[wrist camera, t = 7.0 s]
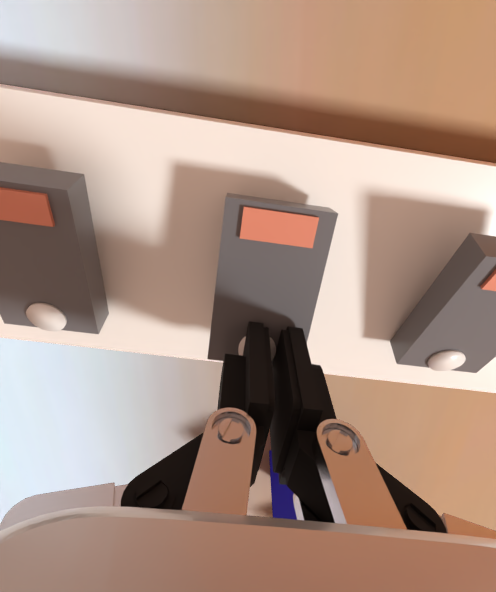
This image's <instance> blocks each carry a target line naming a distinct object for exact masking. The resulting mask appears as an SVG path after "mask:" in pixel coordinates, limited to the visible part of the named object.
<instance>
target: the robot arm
mask: <svg viewBox="0 0 496 592" xmlns="http://www.w3.org/2000/svg"><path fill="white" fill-rule="evenodd" d="M269 429H270V436H271V451H272V466H273V472H274V473H278V474H279V484H282V485H287V487H288V488H289V489H290V490H291V491H292V492H293V493H294V494H293V503H294V508H295V512H296V516H297V520H294V519H283V518H271V517H259V516H247V515H246V514H247V506H248V497H249V489H250V487H251V486H252V485H253V484H254V483H255V479H256V475H257V471H258V470H259V466H260V463H261V459H262V455H263V451H264V448H265V444H266V440H267V436H268V433H269ZM0 592H496V531H495V530H492V529H489V528H486V527H483V526H480V525H477V524H474V523H472V522H469V521H466V520H463V519H460V518H457V517H454V516H452V515H449V514H446V513H443V515H442V516H439V515H438V514H437V513H436V511H435V510H434V509H433V508H432V507H431V506H430V505H428V504H427V503H426V502H425V501H424V500H422V499H421V498H420V497H418V496H417V495H416V494H415V493H413V492H412V491H411V490H410V489H408V488H407V487H406V486H404V485H403V484H402V483H401V482H399V481H398V480H397V479H395V478H394V477H393V476H392V475H390V474H389V473H388V472H387V471H385V470H384V469H383V468H381V467H380V466H379V465H378V464H376V463H375V461H374V459H373V457H372V455H371V453H370V451H369V449H368V447H367V445H366V443H365V441H364V438H363V437H362V435H361V434H360V432H359V431H358V430H357V429H356V428H354V427H353V426H352V425H350V424H349V423H347V422H344V421H342V420H338V419H336V416H335V412H334V409H333V405H332V402H331V398H330V394H329V391H328V387H327V384H326V380H325V377H324V373H323V370H322V367H321V366H320V365H316V364H311V360H310V356H309V352H308V348H307V343H306V339H305V335H304V331H303V329H302V328H297V327H289V326H288V327H287V328H286V330H283V329H282V330H281V333H280V337H279V341H278V345H277V349H276V353H275V357H274V362H273V366H272V358H271V347H270V337H269V328H267V327H264V324H263V323H258V322H250V321H249V323H248V327H247V333H246V339H245V345H244V351H243V356H241V355H233V354H225V355H224V361H223V368H222V375H221V382H220V391H219V400H218V410H217V411H215V412H214V413H213V414H212V415H211V416H210V417H209V419H208V421H207V423H206V427H205V430H204V433H202V434H201V435H199V436H198V437H196V438H195V439H193V440H191V441H190V442H188V443H187V444H185V445H184V446H182V447H181V448H179V449H178V450H176V451H175V452H173V453H172V454H170V455H169V456H167V457H166V458H164V459H162V460H161V461H159V462H158V463H156V464H155V465H153V466H152V467H150V468H149V469H147V470H146V471H144V472H143V473H141V474H140V475H138V476H137V477H135V478H134V479H133V480H132V481H131V482H130V483H129V484H126V485H120V486H115V484H114V483H108V484H102V485H95V486H89V487H83V488H76V489H70V490H64V491H57V492H51V493H45V494H38V495H34V496H31V497H28V498H25V499H24V500H22V501H20V502H19V503H17V504H16V505H14V506H13V507H12V508H11V509H10V510H9V511H8V513H7V514H6V515H5V516H4V518H3V520H2V522H1V524H0Z"/></svg>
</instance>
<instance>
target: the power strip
mask: <svg viewBox="0 0 496 592" xmlns="http://www.w3.org/2000/svg"><path fill="white" fill-rule="evenodd" d="M0 162H4V163H11V164H18V165H25V166H32V167H39V168H46V169H52V170H59V171H66V172H73V173H80V174H84V176H85V182H86V187H87V193H88V198H89V204H90V210H91V215H92V221H93V226H94V232H95V238H96V243H97V249H98V254H99V260H100V266H101V271H102V277H103V282H104V288H105V294H106V299H107V305H108V311H109V315H108V317H107V319H106V321H105V323H104V325H103V327H102V329H101V331H100V333H99V334H91V333H83V332H74V331H65V330H59V331H47V330H43V329H41V328H39V327H30V326H22V325H13V324H4V322H3V320H2V318H1V315H0V338H9V339H18V340H27V341H36V342H45V343H54V344H63V345H72V346H81V347H90V348H99V349H108V350H116V351H125V352H134V353H143V354H152V355H161V356H170V357H179V358H188V359H197V360H206V361H215V362H223V361H218V360H209V359H207V358H208V349H209V340H210V331H211V322H212V313H213V304H214V295H215V286H216V277H217V269H218V260H219V251H220V242H221V233H222V224H223V215H224V206H225V197H226V195H227V193H232V194H239V195H246V196H253V197H260V198H267V199H274V200H281V201H287V202H294V203H301V204H308V205H315V206H322V207H329V208H331V209H332V210H334V211H335V212H337V213H338V217H337V221H336V225H335V229H334V233H333V237H332V241H331V246H330V250H329V254H328V258H327V262H326V266H325V270H324V274H323V278H322V283H321V287H320V291H319V295H318V299H317V303H316V307H315V311H314V316H313V320H312V324H311V328H310V332H309V336H308V340H307V348H308V352H309V356H310V360H311V364H316V365H320V366H321V367H322V370H323V373H324V374H331V375H340V376H349V377H358V378H367V379H376V380H385V381H394V382H402V383H411V384H420V385H429V386H438V387H447V388H456V389H465V390H474V391H483V392H492V393H496V357H495V358H494V359H492V360H491V361H490V362H489V363H488V364H486V365H485V366H484V367H483V368H482V369H480V370H479V371H478V372H477V373H471V372H462V371H453V370H448V371H435V370H432V369H430V368H427V367H419V366H410V365H401V364H397V363H396V360H395V357H394V354H393V350H392V347H391V344H390V340H391V339H392V337H393V336H394V335H395V333H396V332H397V331H398V329H399V328H400V327H401V325H402V324H403V323H404V321H405V320H406V319H407V317H408V316H409V314H410V313H411V312H412V310H413V309H414V308H415V306H416V305H417V304H418V302H419V301H420V300H421V298H422V297H423V295H424V294H425V293H426V291H427V290H428V289H429V287H430V286H431V285H432V283H433V282H434V281H435V279H436V278H437V276H438V275H439V274H440V272H441V271H442V270H443V268H444V267H445V266H446V264H447V263H448V262H449V260H450V259H451V258H452V256H453V255H454V253H455V252H456V251H457V249H458V248H459V247H460V245H461V244H462V243H463V241H464V240H465V239H466V237H467V236H468V234H469V233H475V234H482V235H489V236H496V163H492V162H485V161H479V160H473V159H467V158H460V157H454V156H448V155H442V154H435V153H429V152H423V151H417V150H410V149H404V148H398V147H392V146H385V145H379V144H373V143H367V142H360V141H354V140H348V139H342V138H335V137H329V136H323V135H317V134H310V133H304V132H298V131H292V130H285V129H279V128H273V127H267V126H261V125H254V124H248V123H242V122H236V121H229V120H223V119H217V118H211V117H204V116H198V115H192V114H186V113H179V112H173V111H167V110H161V109H154V108H148V107H142V106H136V105H129V104H123V103H117V102H111V101H104V100H98V99H92V98H86V97H79V96H73V95H67V94H61V93H55V92H48V91H42V90H36V89H30V88H23V87H17V86H11V85H5V84H0Z"/></svg>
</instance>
